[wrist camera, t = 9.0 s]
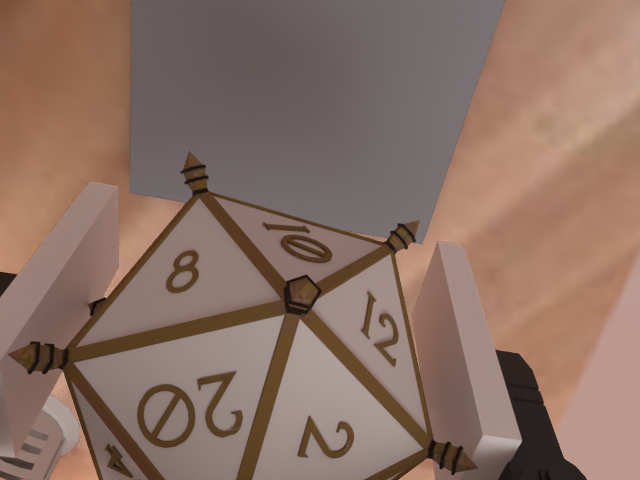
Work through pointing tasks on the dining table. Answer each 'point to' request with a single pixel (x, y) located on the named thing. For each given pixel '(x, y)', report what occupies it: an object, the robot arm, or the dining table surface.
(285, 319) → the game die
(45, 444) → the lantern
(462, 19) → the mat
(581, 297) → the dining table surface
